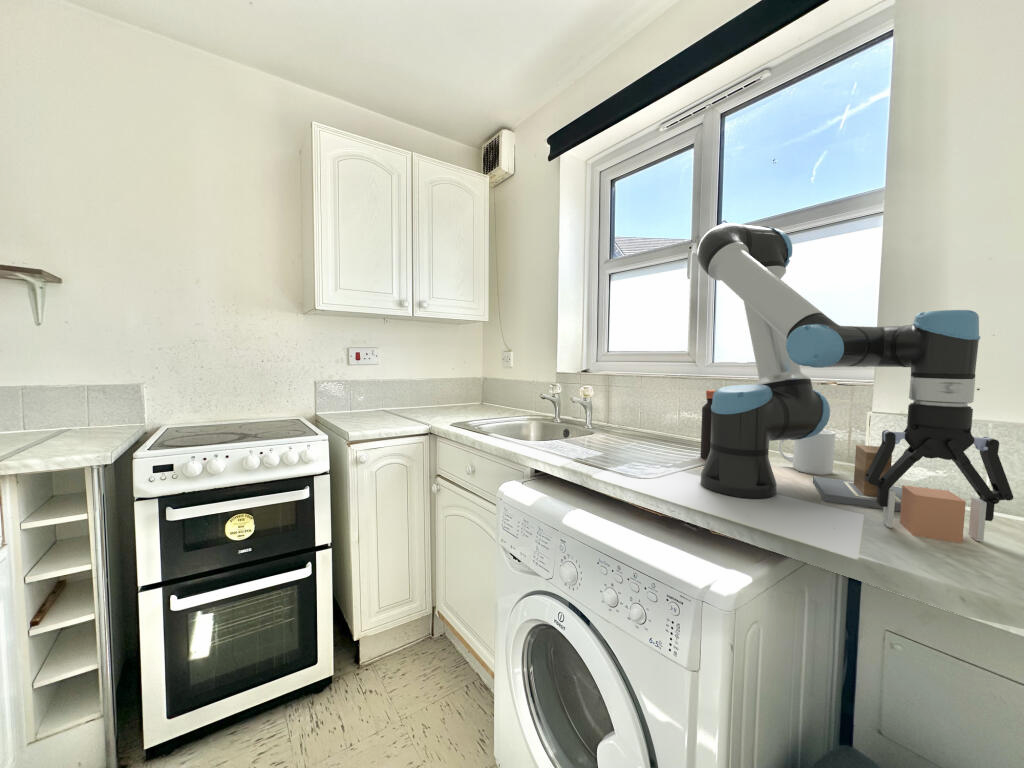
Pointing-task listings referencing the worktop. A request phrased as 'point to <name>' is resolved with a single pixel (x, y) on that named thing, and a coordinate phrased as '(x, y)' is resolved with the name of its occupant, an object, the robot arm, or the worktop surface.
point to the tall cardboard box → (866, 468)
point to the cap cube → (932, 513)
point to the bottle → (706, 425)
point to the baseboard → (850, 493)
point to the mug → (813, 453)
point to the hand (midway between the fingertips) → (929, 531)
